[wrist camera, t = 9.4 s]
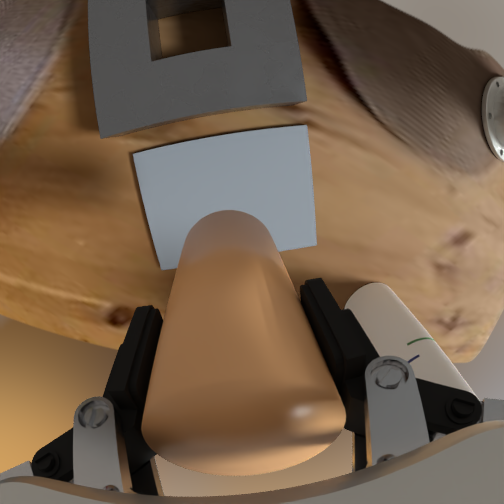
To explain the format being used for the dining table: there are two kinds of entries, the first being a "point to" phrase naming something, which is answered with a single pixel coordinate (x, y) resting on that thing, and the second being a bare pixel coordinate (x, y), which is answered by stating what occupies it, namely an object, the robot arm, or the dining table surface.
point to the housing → (189, 63)
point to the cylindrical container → (402, 335)
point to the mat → (229, 186)
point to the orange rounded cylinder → (237, 359)
